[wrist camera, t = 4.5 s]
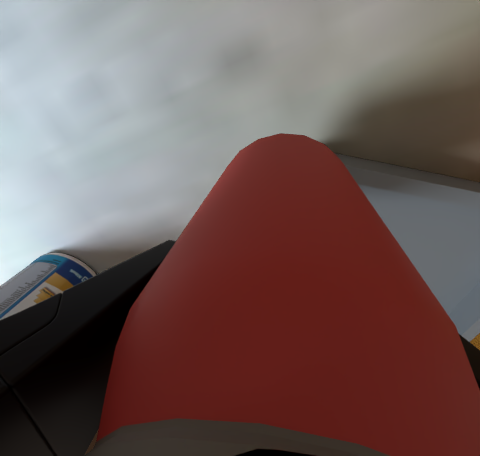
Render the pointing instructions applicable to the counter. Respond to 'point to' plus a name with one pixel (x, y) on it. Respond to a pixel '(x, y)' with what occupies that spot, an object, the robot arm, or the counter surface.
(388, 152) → the counter surface
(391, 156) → the counter surface
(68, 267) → the beverage bottle
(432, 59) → the counter surface
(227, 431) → the beer can
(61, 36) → the counter surface
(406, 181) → the tray
